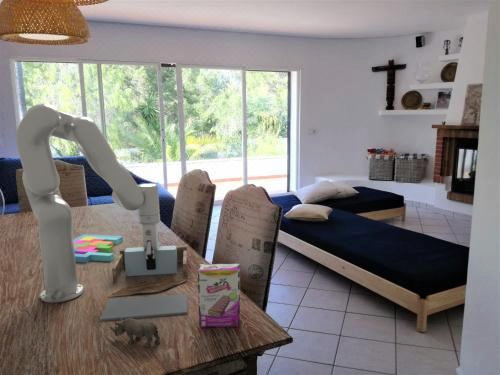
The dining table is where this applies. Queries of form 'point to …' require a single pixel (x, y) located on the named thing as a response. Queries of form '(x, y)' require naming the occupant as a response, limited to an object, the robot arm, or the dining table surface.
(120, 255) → the open wooden box
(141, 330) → the rhino figurine
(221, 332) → the dining table surface
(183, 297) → the mat
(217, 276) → the candy bar box
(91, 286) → the dining table surface
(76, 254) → the tetris game
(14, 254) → the dining table surface
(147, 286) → the fossil stone slab
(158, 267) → the pale blue rectangular block
